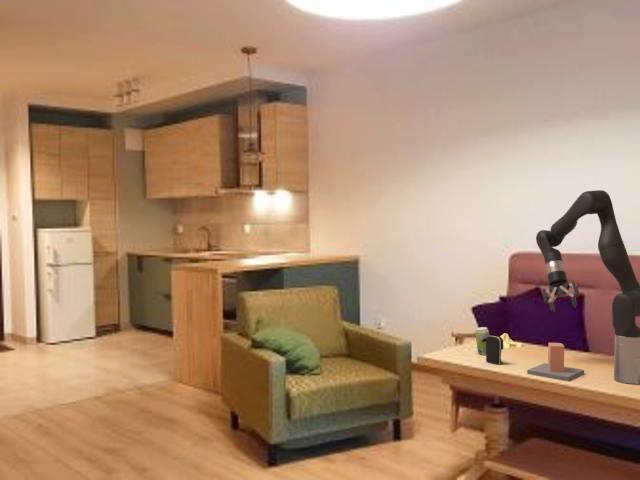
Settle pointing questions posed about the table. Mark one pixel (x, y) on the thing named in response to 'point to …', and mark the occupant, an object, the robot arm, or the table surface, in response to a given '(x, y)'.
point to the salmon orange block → (556, 357)
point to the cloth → (509, 342)
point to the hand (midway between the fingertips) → (564, 309)
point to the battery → (494, 349)
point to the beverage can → (481, 339)
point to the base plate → (545, 372)
